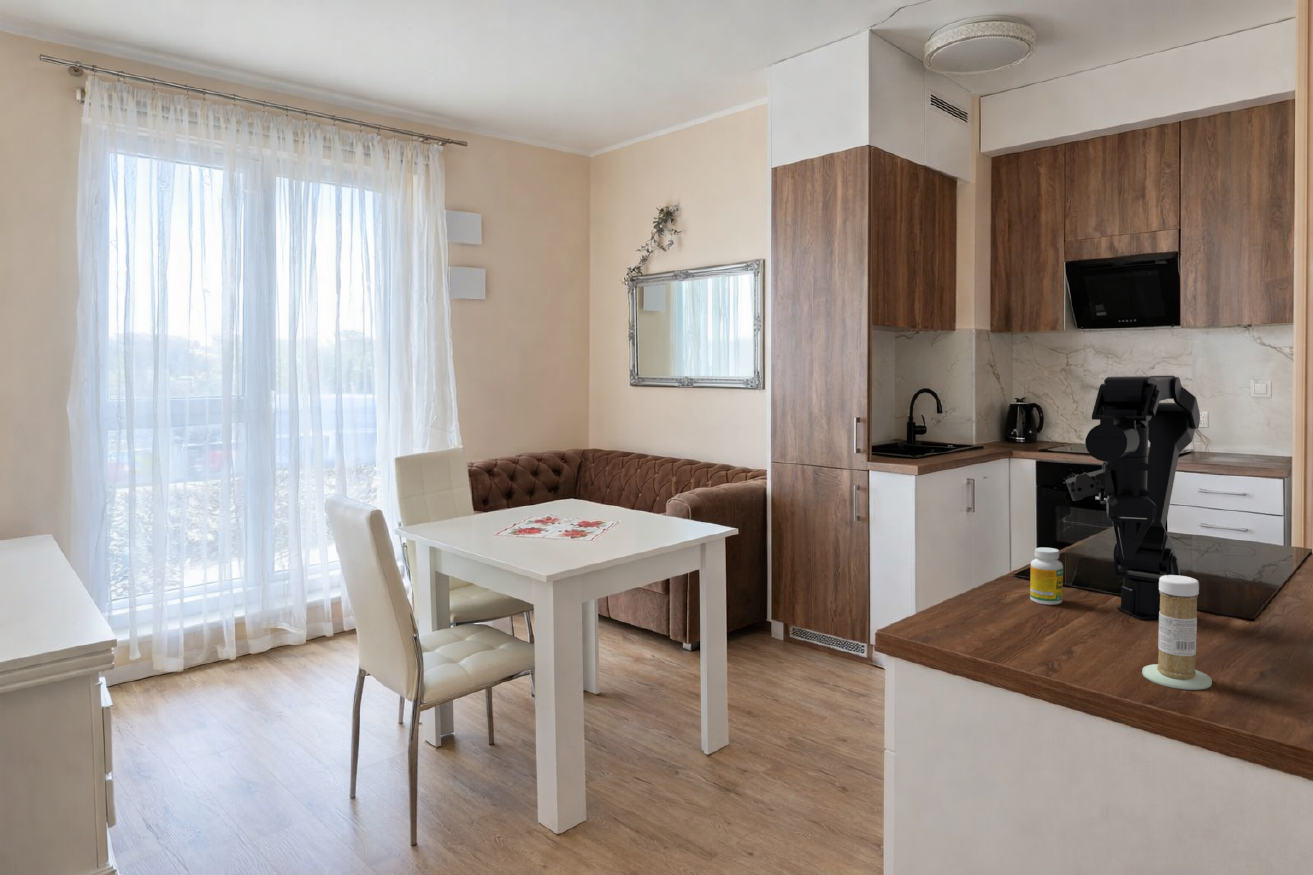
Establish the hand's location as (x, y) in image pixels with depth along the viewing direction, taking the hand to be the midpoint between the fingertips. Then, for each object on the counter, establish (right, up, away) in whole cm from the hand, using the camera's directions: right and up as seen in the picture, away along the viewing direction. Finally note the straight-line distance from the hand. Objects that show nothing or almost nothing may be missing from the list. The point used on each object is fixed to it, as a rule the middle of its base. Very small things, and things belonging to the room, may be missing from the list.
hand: (1124, 552), depth 129 cm
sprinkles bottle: (-3, -14, -18) cm, 23 cm away
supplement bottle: (-3, -12, +19) cm, 22 cm away
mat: (-3, -15, -18) cm, 23 cm away
